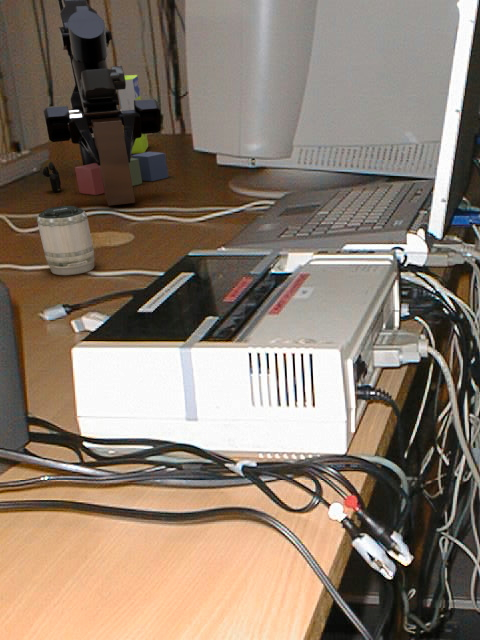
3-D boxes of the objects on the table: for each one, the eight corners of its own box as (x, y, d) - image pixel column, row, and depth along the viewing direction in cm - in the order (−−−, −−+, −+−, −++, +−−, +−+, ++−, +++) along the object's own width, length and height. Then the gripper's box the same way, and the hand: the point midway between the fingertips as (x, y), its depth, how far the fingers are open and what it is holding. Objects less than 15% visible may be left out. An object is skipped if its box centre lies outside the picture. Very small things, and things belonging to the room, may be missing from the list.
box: (145, 153, 203) (131, 68, 194) (127, 154, 203) (112, 69, 194) (149, 146, 212) (136, 64, 203) (131, 147, 212) (118, 65, 203)
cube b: (126, 181, 174) (122, 157, 172) (142, 183, 172) (138, 158, 170) (108, 186, 171) (103, 161, 169) (124, 188, 169) (120, 162, 167)
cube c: (98, 188, 170) (94, 163, 167) (114, 190, 167) (110, 164, 165) (79, 193, 166) (74, 167, 164) (95, 195, 164) (90, 169, 162)
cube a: (152, 175, 179) (149, 151, 177) (168, 177, 177) (165, 152, 175) (135, 179, 176) (131, 155, 174) (151, 181, 174) (147, 156, 171)
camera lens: (42, 269, 122) (28, 209, 118) (86, 260, 125) (74, 201, 121) (58, 279, 117) (44, 216, 113) (104, 269, 120) (92, 208, 116)
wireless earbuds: (60, 194, 166) (54, 165, 163) (46, 195, 165) (40, 166, 163) (62, 187, 172) (56, 159, 169) (48, 188, 171) (42, 160, 169)
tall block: (105, 200, 157) (90, 119, 150) (132, 197, 158) (118, 117, 151) (108, 205, 153) (93, 122, 146) (135, 202, 154) (121, 120, 148)
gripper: (30, 52, 144) (49, 135, 141) (149, 45, 149) (170, 125, 146) (40, 101, 154) (58, 179, 151) (150, 92, 160) (170, 168, 156)
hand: (114, 162), depth 151 cm, fingers closed on tall block, 4 cm apart
